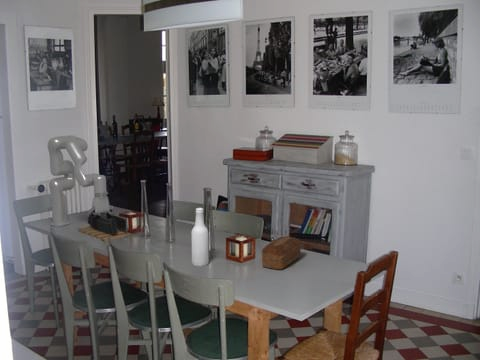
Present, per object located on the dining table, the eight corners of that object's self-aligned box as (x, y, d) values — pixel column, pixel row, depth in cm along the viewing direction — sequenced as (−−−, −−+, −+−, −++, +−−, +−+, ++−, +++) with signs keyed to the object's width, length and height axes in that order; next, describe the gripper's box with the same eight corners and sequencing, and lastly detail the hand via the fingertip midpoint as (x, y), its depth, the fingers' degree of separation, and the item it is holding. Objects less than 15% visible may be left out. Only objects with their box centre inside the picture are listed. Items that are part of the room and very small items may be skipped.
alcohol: (208, 260, 293) (208, 206, 288) (208, 266, 284) (207, 210, 279) (192, 261, 293) (191, 206, 287) (191, 266, 284) (190, 210, 279)
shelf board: (77, 230, 352) (77, 228, 352) (102, 225, 364) (101, 223, 364) (105, 241, 328) (105, 239, 328) (130, 235, 341) (130, 233, 340)
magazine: (119, 221, 332) (94, 200, 351) (114, 222, 330) (89, 201, 348) (116, 246, 339) (91, 223, 357) (111, 247, 336) (87, 224, 355)
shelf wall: (100, 224, 361) (100, 211, 360) (102, 224, 362) (101, 210, 360) (126, 233, 340) (125, 219, 339) (127, 232, 341) (127, 218, 340)
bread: (304, 257, 300) (304, 235, 298) (282, 272, 276) (282, 249, 274) (281, 253, 307) (281, 232, 304) (258, 268, 283) (258, 245, 280)
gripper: (109, 192, 350) (110, 217, 353) (84, 196, 338) (86, 222, 341) (115, 193, 344) (116, 220, 348) (91, 197, 332) (92, 225, 336)
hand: (101, 221), depth 344 cm, fingers open, 9 cm apart
